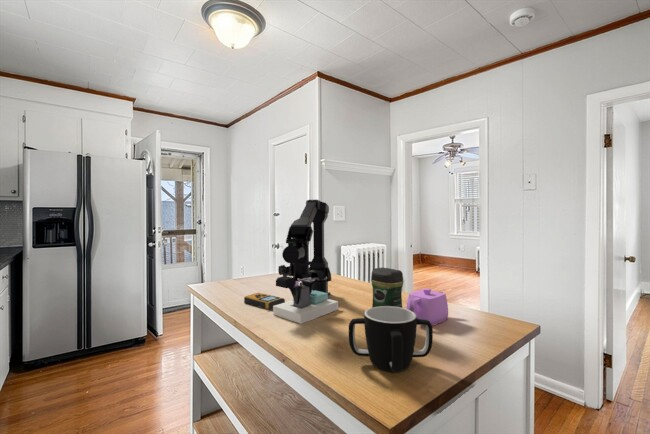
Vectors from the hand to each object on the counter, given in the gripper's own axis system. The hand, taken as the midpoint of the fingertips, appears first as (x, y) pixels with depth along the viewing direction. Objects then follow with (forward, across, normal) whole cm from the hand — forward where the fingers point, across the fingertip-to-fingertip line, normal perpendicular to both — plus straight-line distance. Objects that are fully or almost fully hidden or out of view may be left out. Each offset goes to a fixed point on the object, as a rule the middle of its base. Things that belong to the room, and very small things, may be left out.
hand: (301, 302), depth 111 cm
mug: (+4, +11, +42) cm, 44 cm away
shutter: (+1, -7, 0) cm, 7 cm away
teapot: (+4, -24, +36) cm, 43 cm away
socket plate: (+4, -2, 0) cm, 5 cm away
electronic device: (+5, +1, -20) cm, 20 cm away
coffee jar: (+4, -8, +30) cm, 31 cm away
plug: (+2, 0, 0) cm, 2 cm away
